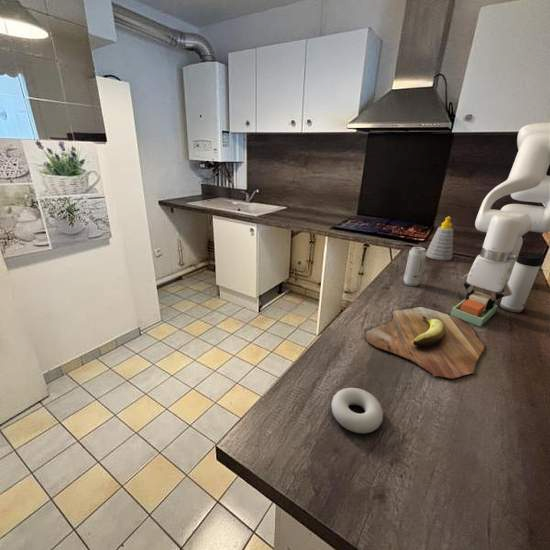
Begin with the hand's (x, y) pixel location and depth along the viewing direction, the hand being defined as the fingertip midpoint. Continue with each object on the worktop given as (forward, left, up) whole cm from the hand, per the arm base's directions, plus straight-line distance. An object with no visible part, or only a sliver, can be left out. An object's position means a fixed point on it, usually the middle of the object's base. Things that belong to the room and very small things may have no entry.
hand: (478, 305), depth 98 cm
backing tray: (+3, 0, -2) cm, 4 cm away
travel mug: (-12, +7, -2) cm, 14 cm away
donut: (+68, 0, -2) cm, 68 cm away
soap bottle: (-49, -33, -2) cm, 59 cm away
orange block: (+6, 0, -2) cm, 6 cm away
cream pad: (0, 0, 0) cm, 0 cm away
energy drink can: (-4, -25, -2) cm, 25 cm away
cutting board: (+28, -4, -2) cm, 29 cm away
